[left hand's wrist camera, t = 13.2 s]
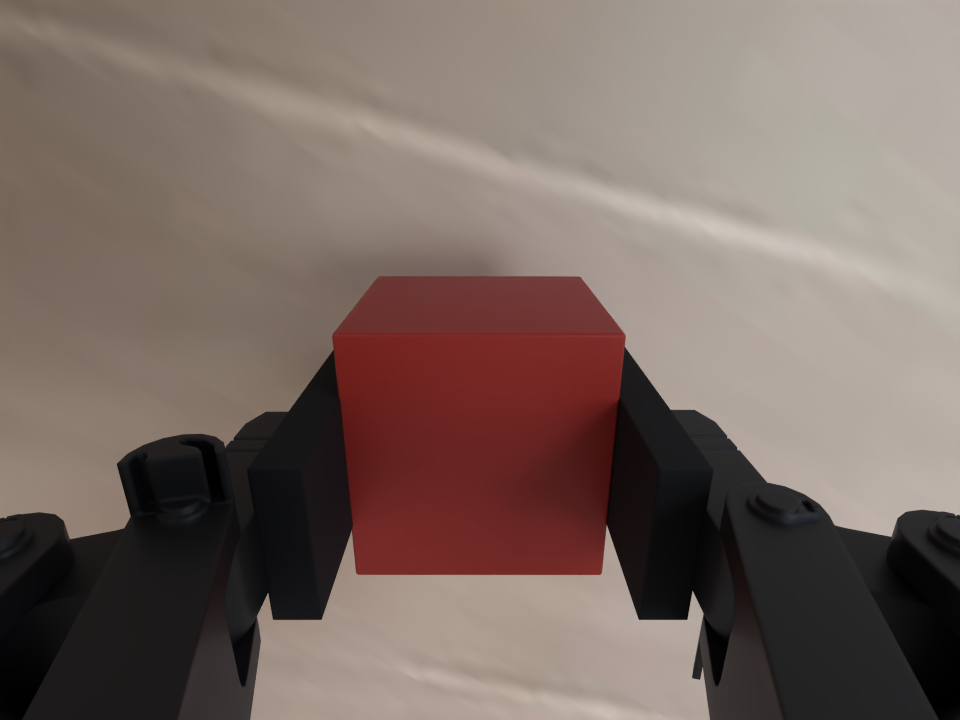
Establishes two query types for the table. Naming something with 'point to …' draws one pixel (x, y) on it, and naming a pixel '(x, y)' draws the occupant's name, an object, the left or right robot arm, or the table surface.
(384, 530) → the block
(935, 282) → the table surface
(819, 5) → the table surface
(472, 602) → the table surface
